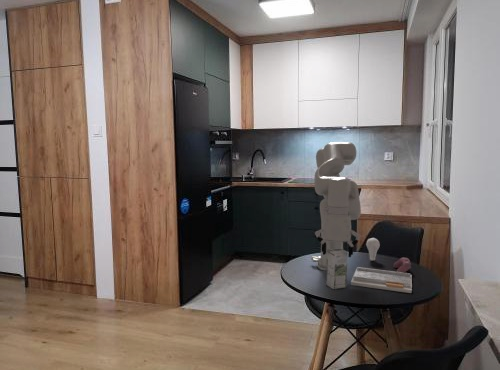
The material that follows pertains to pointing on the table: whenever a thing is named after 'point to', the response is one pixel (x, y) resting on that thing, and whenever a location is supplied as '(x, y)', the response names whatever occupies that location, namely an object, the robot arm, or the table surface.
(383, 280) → the metal tray
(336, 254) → the syrup box
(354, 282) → the mounting plate
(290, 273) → the table surface
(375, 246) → the lightbulb
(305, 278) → the table surface
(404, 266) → the video game controller
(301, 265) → the table surface
